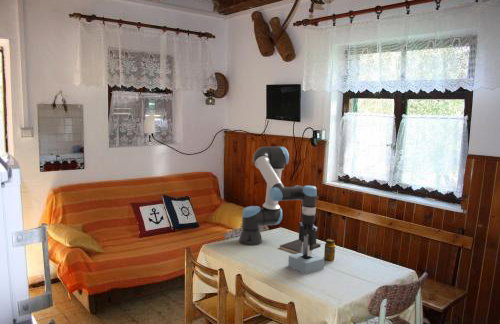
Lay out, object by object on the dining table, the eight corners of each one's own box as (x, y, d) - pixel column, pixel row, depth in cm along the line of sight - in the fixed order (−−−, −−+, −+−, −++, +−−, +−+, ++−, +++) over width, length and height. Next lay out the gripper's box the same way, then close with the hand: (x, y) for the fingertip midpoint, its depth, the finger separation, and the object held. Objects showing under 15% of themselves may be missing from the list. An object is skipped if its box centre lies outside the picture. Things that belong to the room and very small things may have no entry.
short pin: (298, 256, 248) (298, 247, 247) (303, 255, 250) (303, 246, 249) (302, 258, 245) (303, 249, 244) (307, 257, 247) (308, 247, 246)
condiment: (337, 260, 244) (338, 240, 242) (327, 263, 239) (328, 243, 238) (328, 256, 250) (329, 237, 248) (318, 259, 245) (319, 239, 244)
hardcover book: (279, 249, 262) (279, 245, 262) (300, 241, 279) (300, 238, 279) (299, 255, 252) (299, 251, 251) (320, 247, 268) (320, 243, 268)
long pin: (301, 259, 231) (302, 235, 229) (306, 257, 233) (307, 233, 232) (306, 261, 228) (307, 236, 226) (311, 260, 230) (312, 235, 228)
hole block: (288, 265, 233) (288, 255, 232) (306, 261, 241) (306, 251, 240) (305, 274, 221) (306, 263, 221) (323, 268, 230) (324, 258, 229)
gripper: (293, 211, 232) (291, 251, 235) (314, 218, 218) (312, 260, 221) (303, 209, 236) (301, 248, 239) (324, 216, 223) (322, 257, 226)
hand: (306, 254), depth 230 cm, fingers closed on long pin, 4 cm apart
